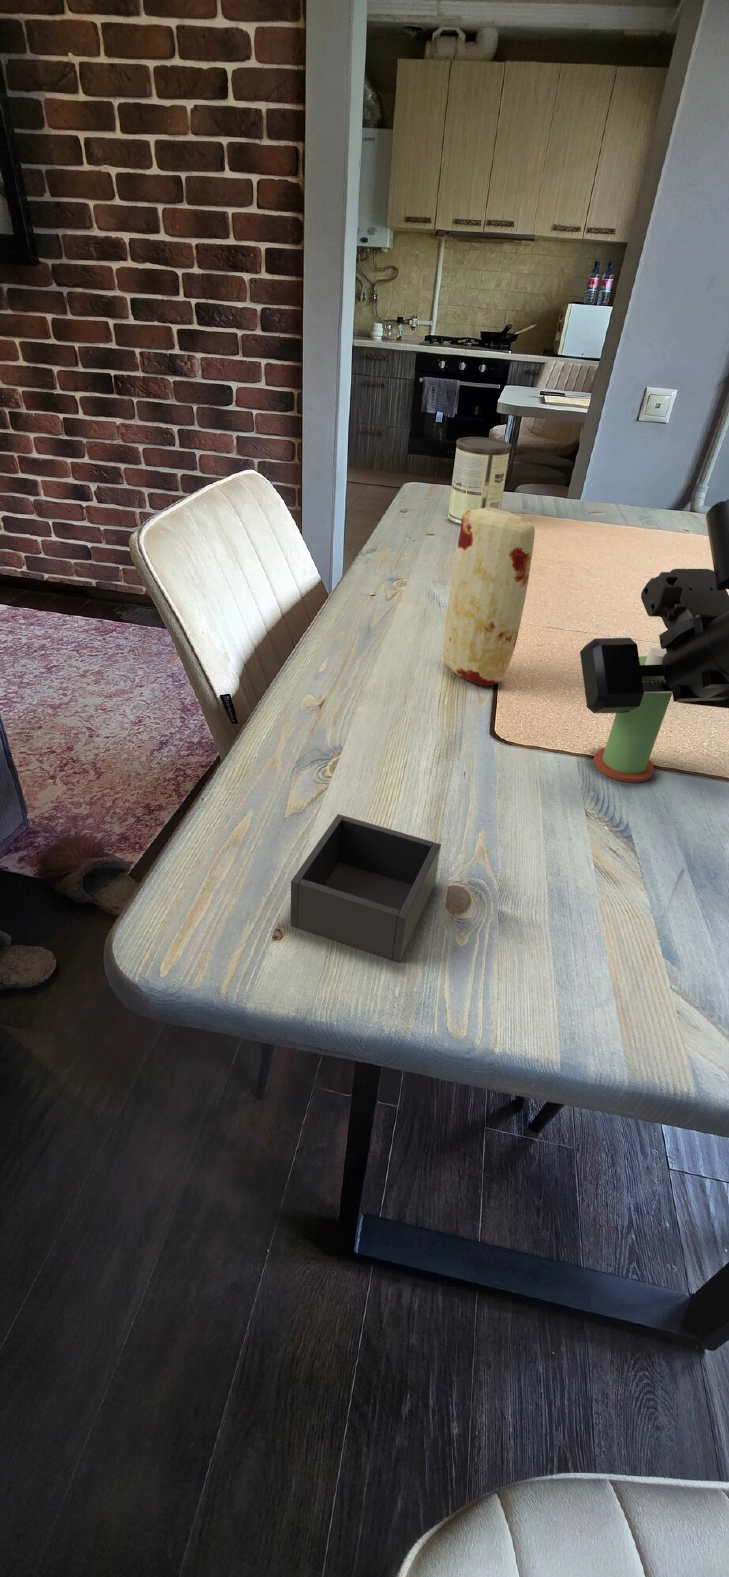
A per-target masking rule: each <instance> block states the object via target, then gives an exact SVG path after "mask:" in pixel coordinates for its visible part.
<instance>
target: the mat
mask: <svg viewBox="0 0 729 1577" xmlns="http://www.w3.org/2000/svg"><path fill="white" fill-rule="evenodd" d="M605 748H606V746H605V747H601V748H600V749H598V750H597V751H596V752H595V753H594V758H593V764H594V766H595V767H596V769H597V770H598V771H599V772H600V773H602V774H603V775H605V776H607V777H608V778H611V779H613V780H615V781H619V782H624V783H632V784H634V783H635V784H637V783H642V782H645V781H648V780H649V779H651V777H653V774H654V771H655V767H654V764H653V762H652V761H651V759H649V761H648V764H647V766H646V769H645V770H644V771H643V772H642V773H639V774H625V773H621V772H618V771H615V770H613V769H611V768H610V767H608V766H607V765H606V764H605V763H604V761H603V754H604V751H605Z"/></svg>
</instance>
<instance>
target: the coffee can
mask: <svg viewBox="0 0 729 1577" xmlns="http://www.w3.org/2000/svg"><path fill="white" fill-rule="evenodd" d="M455 442H456V448H455V456H454V457H455V458H454V464H453V472H452V481H451V489H450V495H449V496H450V497H449V505H448V506H449V507H448V513H447V519H448V520H450V521H451V522H454V523H456V524H459V525H461V521H462V515H463V513H464V512H465V511H468V510H476V509H481V508H486V507H490V508H496V509H499V510H502V509H501V507H502V502H503V497H504V495H503V494H504V490H505V484H506V478H507V473H508V472H507V471H508V466H509V461H510V460H509V459H510V454H511V450H512V447H513V445H512V444H511V443H510V442H508V441H505V440H502V439H497V438H492V437H486V436H485V437H483V436H464V437H459V438H458V439H456V441H455Z"/></svg>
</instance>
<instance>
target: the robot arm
mask: <svg viewBox="0 0 729 1577" xmlns="http://www.w3.org/2000/svg"><path fill="white" fill-rule="evenodd" d="M705 523H706V529H707V535H708V540H709V547H710V548H709V549H710V553H711V560H712V566H713V569H709V568H673V569H671V570H670V571H661V572H660V573H659V575H657V576H655V577H651V578H650V580H648V581H647V583H646V584H645V585H644V587H643V588H642V591H641V593H640V594H641V595H640V600H641V602H642V604H643V606H644V609H645V612H646V614H647V616H648V617H651V618H652V617H654V618H655V617H657V618H661V620H662V623H663V624H664V626H665V628H666V629H667V630H665V631H663V632H662V633H660V634H659V635H658V638H659V646H660V648H661V649H666V654H664V657H663V661H662V665H640V661H639V657H640V654H639V647H638V643H637V642H635V640H633V639H632V638H631V637H610V638H609V637H604V638H603V637H601V638H600V637H597V638H593V639H591V641H589V642H587V644H585V645H584V646H583V647H582V648H581V649H580V651H579V655H580V661H581V662H580V663H581V664H580V665H581V671H582V677H583V678H582V679H583V680H582V681H583V687H584V695H585V702H586V703H585V704H586V708H587V709H588V710H589V711H590V712H592V713H593V714H616V713H627V712H629V710H634V709H636V708H638V707H640V704H641V701H642V698H643V695H644V693H672V701H673V702H674V703H677V704H685V705H694V706H703V707H714V708H721V709H729V592H728V591H727V590H729V498H728V499H727V500H723V501H718V502H716V503H715V504H714V505H712V506H711V507H710V508H709V509H708V510H707V512H706V514H705ZM643 681H645V682H644V683H643ZM647 681H649V682H647ZM651 681H653V682H651ZM655 681H657V682H655ZM660 681H661V682H660ZM664 681H665V682H664Z"/></svg>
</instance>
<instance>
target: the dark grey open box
mask: <svg viewBox="0 0 729 1577" xmlns="http://www.w3.org/2000/svg"><path fill="white" fill-rule="evenodd" d="M441 848H442V844H441V843H439V842H434V841H432V840H429V839H425V838H421V837H418V836H414V835H411V834H408V833H404V832H401V831H398V830H394V829H391V828H387V827H384V826H381V825H378V824H373V823H370V822H367V821H364V820H360V819H357V818H353V817H350V816H348V815H347V816H346V815H343V814H340V813H337V815H336V816H335V817H334V818H333V820H332V822H331V823H330V824H329V826H328V827H327V829H326V830H325V832H324V833H323V834H322V836H321V837H320V839H319V840H318V842H317V843H316V844H315V846H314V847H313V849H312V850H311V852H310V853H309V855H308V856H307V857H306V858H305V860H304V862H303V863H302V865H301V866H300V868H299V869H298V870H297V872H296V873H295V875H294V876H293V877H292V879H291V880H290V927H293V928H296V929H298V930H302V931H304V932H308V933H311V934H313V935H316V936H319V937H323V938H325V939H328V940H330V941H334V942H337V943H340V944H342V945H346V946H348V947H352V948H354V949H357V950H360V951H363V952H366V953H369V954H372V955H374V956H377V957H380V958H383V959H386V960H389V961H391V962H395V963H398V964H400V963H401V961H402V959H403V956H404V954H405V952H406V950H407V947H408V946H409V943H410V941H411V939H412V937H413V934H414V932H415V930H416V928H417V925H418V924H419V922H420V919H421V917H422V915H423V912H424V910H425V909H426V906H427V904H428V901H429V899H430V897H431V894H432V892H433V891H434V888H435V883H436V878H437V872H438V864H439V859H440V853H441Z"/></svg>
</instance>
